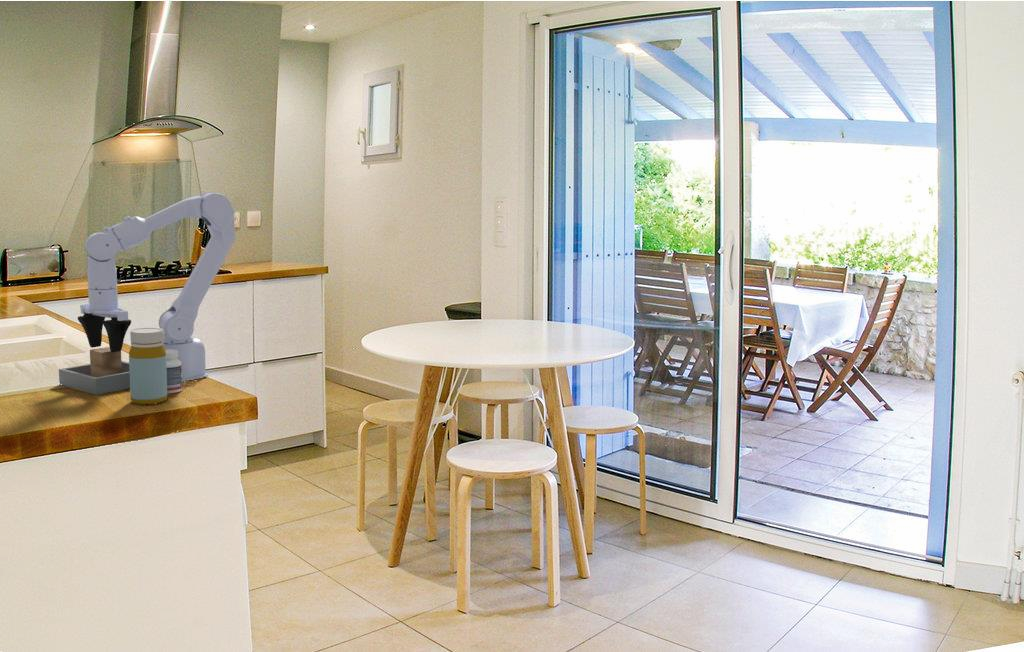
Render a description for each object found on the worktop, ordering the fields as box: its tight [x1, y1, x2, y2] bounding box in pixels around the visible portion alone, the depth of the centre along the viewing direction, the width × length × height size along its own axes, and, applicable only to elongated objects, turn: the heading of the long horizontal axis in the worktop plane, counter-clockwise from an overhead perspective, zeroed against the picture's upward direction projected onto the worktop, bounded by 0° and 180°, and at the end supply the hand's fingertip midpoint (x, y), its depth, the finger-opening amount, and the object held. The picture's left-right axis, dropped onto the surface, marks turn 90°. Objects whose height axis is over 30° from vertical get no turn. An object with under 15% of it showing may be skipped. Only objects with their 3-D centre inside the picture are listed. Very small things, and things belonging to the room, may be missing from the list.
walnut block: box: [89, 346, 122, 378], centre depth 185 cm, size 4×4×7 cm
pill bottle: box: [165, 349, 183, 394], centre depth 181 cm, size 5×5×9 cm
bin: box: [58, 360, 130, 396], centre depth 185 cm, size 14×14×4 cm
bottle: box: [128, 327, 168, 406], centre depth 172 cm, size 7×7×15 cm
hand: (105, 349), depth 184 cm, fingers open, 7 cm apart
